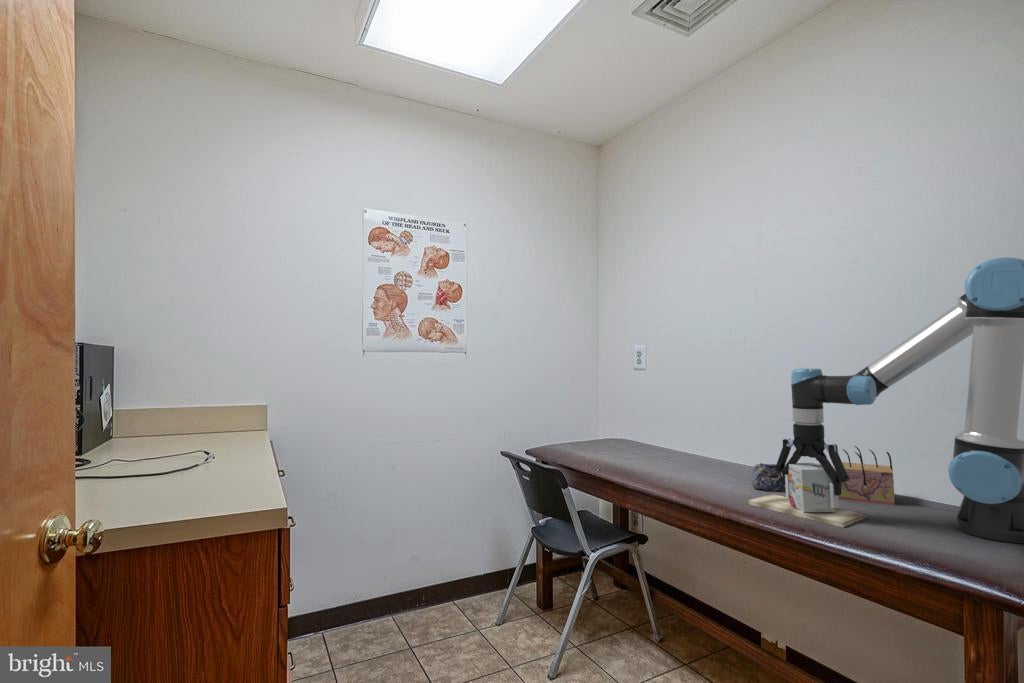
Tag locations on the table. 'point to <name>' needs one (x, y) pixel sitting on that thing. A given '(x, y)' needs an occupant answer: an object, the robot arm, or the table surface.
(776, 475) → the rock
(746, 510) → the table surface
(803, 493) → the ink box
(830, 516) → the board
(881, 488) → the anatomical model
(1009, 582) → the table surface
